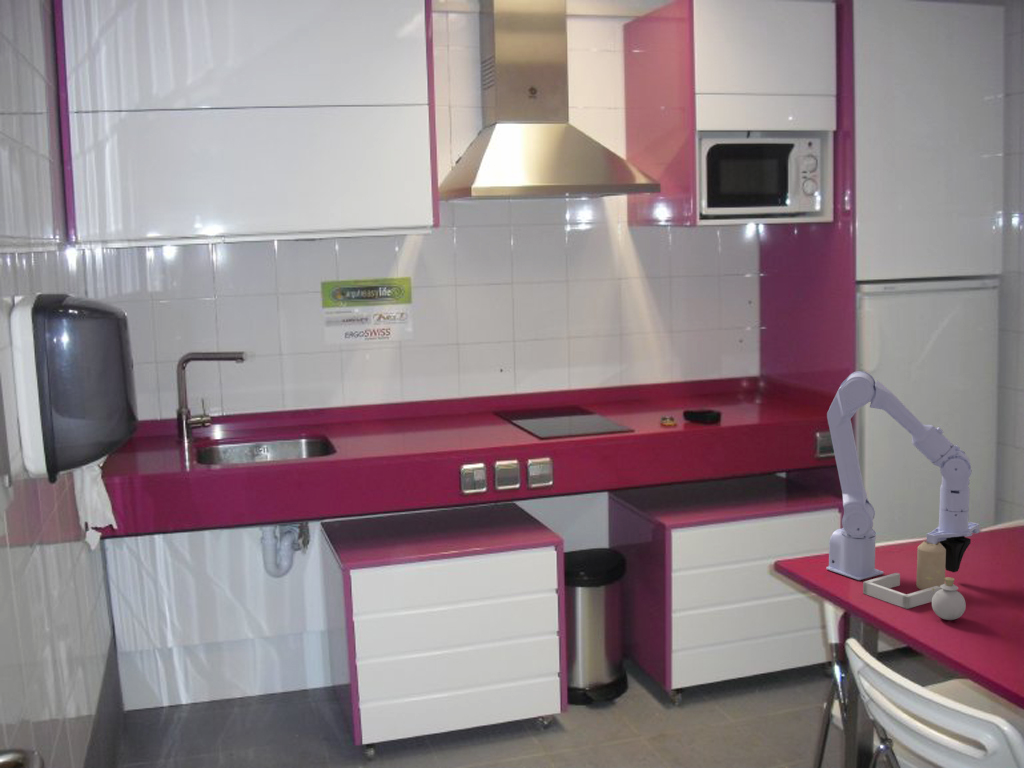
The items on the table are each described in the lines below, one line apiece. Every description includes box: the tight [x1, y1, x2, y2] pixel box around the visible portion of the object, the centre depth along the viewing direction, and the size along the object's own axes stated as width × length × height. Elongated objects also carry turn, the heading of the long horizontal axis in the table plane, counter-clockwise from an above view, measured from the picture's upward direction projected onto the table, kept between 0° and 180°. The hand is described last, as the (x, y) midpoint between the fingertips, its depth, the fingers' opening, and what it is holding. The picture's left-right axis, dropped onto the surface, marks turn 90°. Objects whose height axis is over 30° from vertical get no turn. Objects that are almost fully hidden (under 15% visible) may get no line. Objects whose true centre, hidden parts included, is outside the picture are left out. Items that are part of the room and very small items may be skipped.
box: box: [862, 572, 941, 610], centre depth 214 cm, size 11×10×2 cm
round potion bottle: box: [926, 569, 967, 621], centre depth 200 cm, size 6×7×10 cm
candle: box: [915, 540, 946, 590], centre depth 217 cm, size 6×6×10 cm
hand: (951, 570), depth 221 cm, fingers closed
